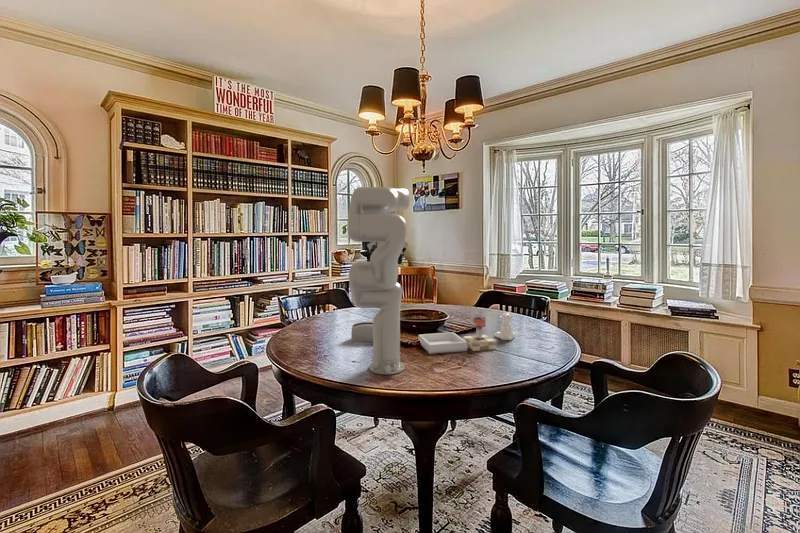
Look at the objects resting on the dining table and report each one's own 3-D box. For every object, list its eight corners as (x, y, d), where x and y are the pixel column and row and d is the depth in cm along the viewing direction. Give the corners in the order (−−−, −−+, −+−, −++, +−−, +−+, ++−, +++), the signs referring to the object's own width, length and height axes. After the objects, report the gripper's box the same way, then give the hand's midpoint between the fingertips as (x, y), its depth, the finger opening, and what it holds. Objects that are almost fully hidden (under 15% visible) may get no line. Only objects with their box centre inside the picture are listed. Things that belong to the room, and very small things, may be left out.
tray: (467, 350, 161) (467, 342, 161) (429, 353, 158) (429, 345, 157) (452, 340, 177) (453, 332, 177) (418, 342, 173) (418, 334, 173)
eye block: (495, 349, 163) (495, 340, 163) (472, 351, 161) (473, 342, 161) (484, 342, 173) (484, 334, 173) (463, 344, 171) (463, 336, 170)
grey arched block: (389, 338, 180) (388, 319, 176) (388, 344, 176) (387, 325, 172) (352, 337, 182) (351, 319, 177) (351, 344, 177) (349, 325, 173)
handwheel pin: (487, 347, 165) (487, 318, 164) (476, 348, 164) (476, 319, 163) (481, 344, 170) (482, 316, 169) (471, 345, 169) (471, 316, 168)
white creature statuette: (515, 336, 182) (515, 310, 181) (519, 341, 174) (519, 314, 173) (494, 335, 183) (494, 310, 182) (496, 341, 175) (497, 314, 174)
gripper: (370, 222, 153) (371, 266, 155) (411, 222, 160) (411, 264, 161) (364, 222, 160) (365, 264, 162) (403, 222, 167) (403, 262, 168)
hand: (388, 264), depth 162 cm, fingers open, 9 cm apart
